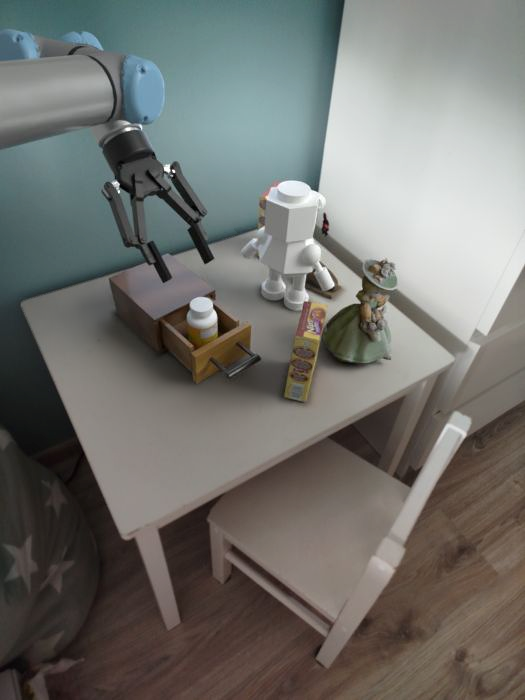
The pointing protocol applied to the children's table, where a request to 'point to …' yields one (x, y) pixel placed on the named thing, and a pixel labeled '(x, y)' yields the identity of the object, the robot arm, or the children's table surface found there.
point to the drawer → (209, 344)
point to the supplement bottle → (201, 322)
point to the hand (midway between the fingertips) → (189, 270)
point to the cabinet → (155, 296)
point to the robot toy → (290, 243)
